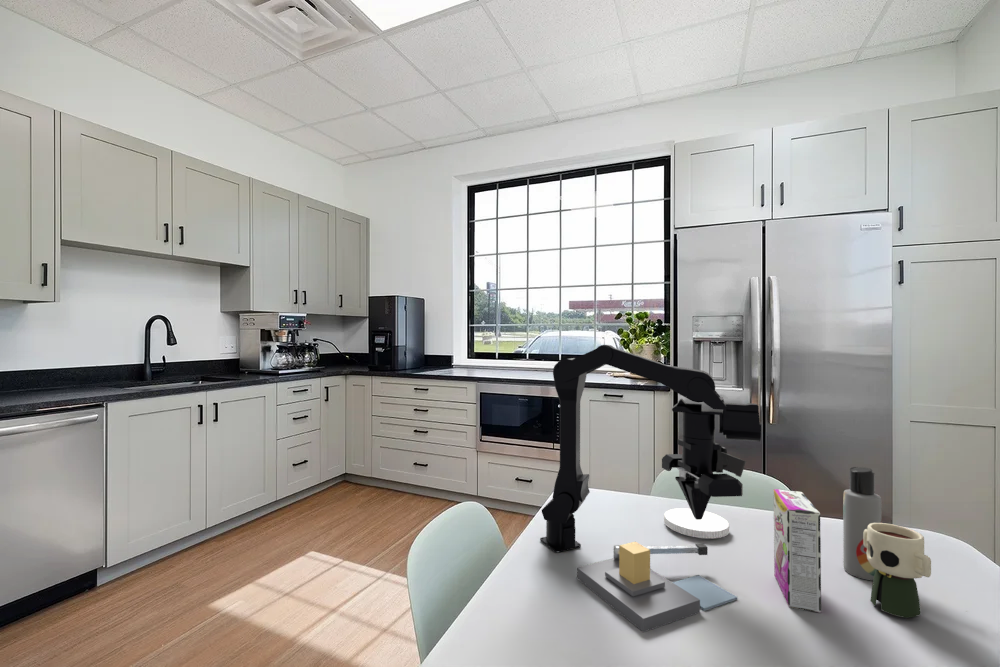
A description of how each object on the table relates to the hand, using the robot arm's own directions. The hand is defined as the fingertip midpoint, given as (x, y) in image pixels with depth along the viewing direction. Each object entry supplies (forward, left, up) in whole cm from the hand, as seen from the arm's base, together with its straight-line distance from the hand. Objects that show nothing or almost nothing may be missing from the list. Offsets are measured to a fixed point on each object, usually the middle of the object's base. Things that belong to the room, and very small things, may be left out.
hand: (698, 518), depth 86 cm
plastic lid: (-15, +16, -11) cm, 25 cm away
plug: (+1, -16, -10) cm, 19 cm away
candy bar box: (+12, +10, -10) cm, 19 cm away
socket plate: (+1, -16, -10) cm, 19 cm away
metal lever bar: (-4, -6, -8) cm, 11 cm away
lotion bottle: (+13, +29, -10) cm, 33 cm away
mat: (+5, -5, -10) cm, 13 cm away
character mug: (+22, +20, -10) cm, 31 cm away
